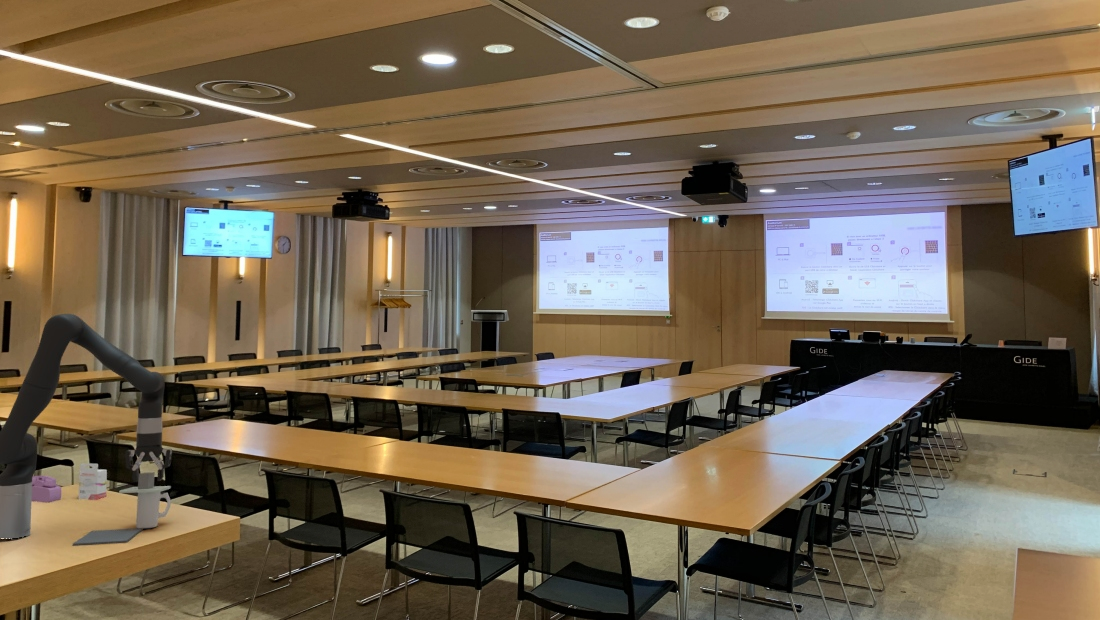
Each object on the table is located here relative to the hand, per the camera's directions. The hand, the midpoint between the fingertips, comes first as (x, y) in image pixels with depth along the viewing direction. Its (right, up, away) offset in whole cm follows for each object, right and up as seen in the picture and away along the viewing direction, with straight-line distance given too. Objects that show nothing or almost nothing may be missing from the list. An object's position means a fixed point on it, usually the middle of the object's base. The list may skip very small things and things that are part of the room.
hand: (148, 480), depth 236 cm
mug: (+1, -16, 0) cm, 16 cm away
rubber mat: (-5, -15, -12) cm, 20 cm away
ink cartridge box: (-45, -18, +40) cm, 63 cm away
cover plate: (-1, -3, 0) cm, 3 cm away
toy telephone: (-65, -18, +39) cm, 78 cm away
